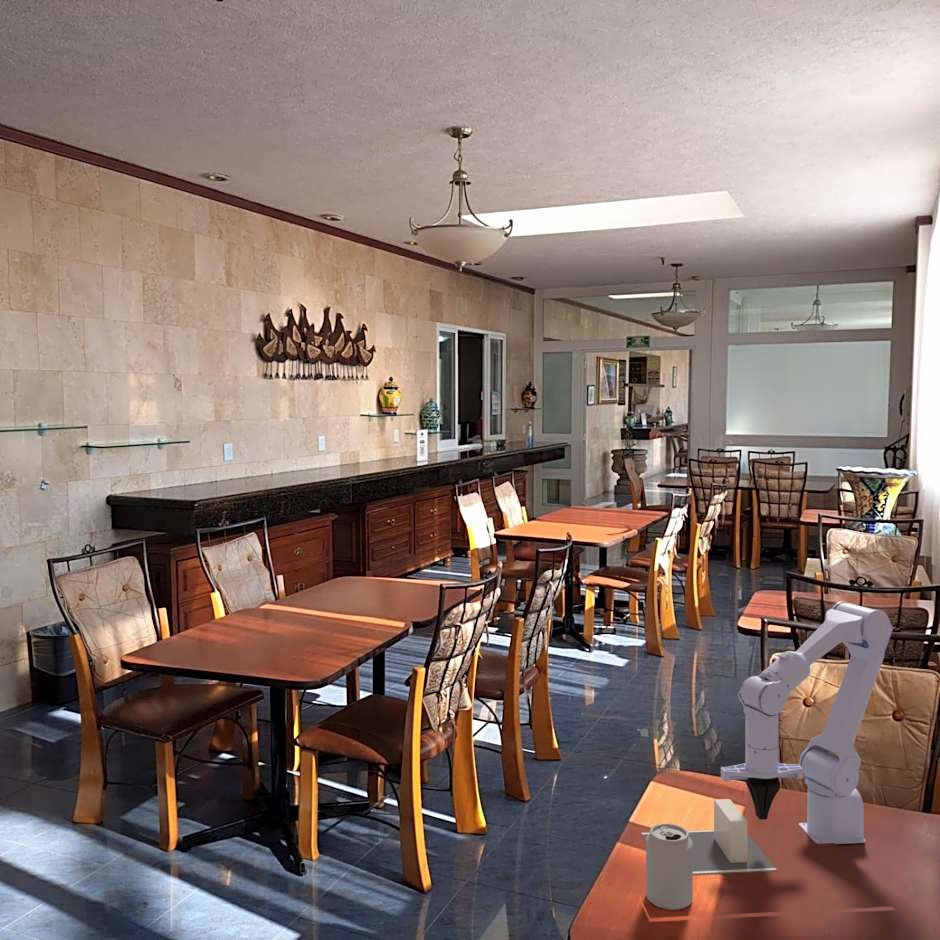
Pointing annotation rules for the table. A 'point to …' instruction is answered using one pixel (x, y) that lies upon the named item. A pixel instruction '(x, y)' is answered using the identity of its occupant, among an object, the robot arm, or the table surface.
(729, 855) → the white rectangular block
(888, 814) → the table surface
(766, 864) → the mat
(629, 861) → the table surface
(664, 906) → the can
